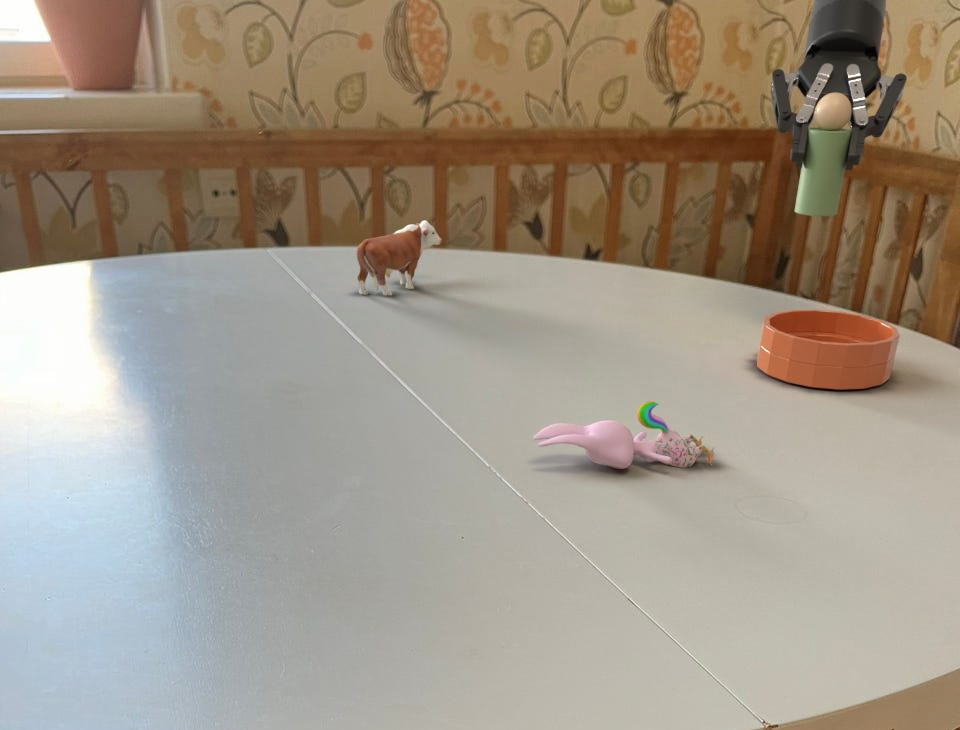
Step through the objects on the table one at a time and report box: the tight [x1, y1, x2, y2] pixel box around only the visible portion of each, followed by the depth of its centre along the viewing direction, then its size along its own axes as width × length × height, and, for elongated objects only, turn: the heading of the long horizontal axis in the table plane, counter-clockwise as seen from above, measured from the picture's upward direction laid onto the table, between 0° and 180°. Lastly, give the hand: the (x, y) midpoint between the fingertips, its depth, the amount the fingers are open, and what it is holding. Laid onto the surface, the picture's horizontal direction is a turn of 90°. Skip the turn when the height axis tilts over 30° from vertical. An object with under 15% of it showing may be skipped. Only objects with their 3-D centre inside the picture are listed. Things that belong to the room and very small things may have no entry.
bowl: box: [756, 308, 901, 391], centre depth 107 cm, size 13×13×5 cm
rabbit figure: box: [532, 400, 716, 470], centre depth 84 cm, size 6×6×15 cm
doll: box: [794, 93, 852, 217], centre depth 109 cm, size 4×4×11 cm
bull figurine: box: [356, 219, 443, 297], centre depth 133 cm, size 4×13×8 cm, turn 137°
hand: (824, 163), depth 107 cm, fingers closed on doll, 4 cm apart
